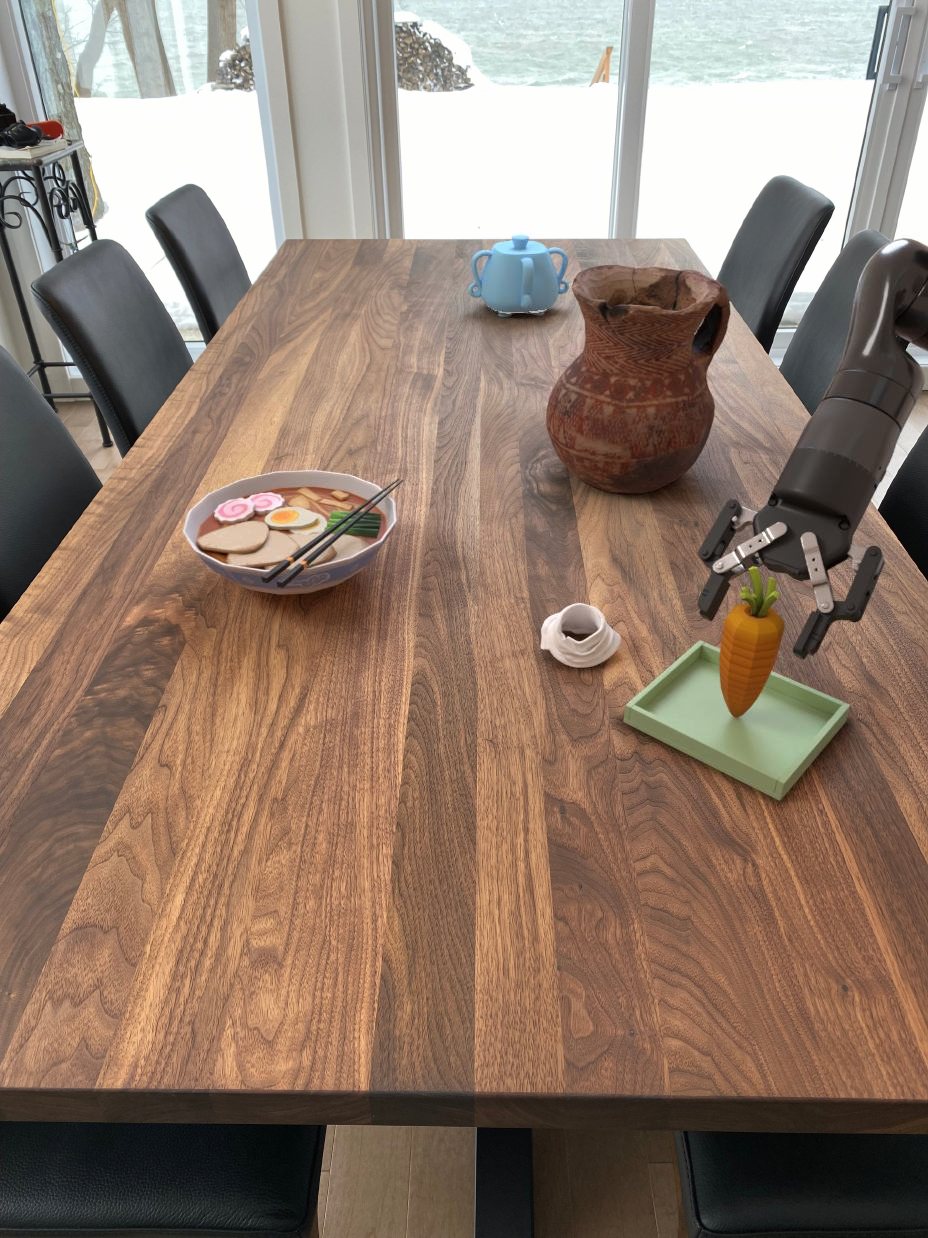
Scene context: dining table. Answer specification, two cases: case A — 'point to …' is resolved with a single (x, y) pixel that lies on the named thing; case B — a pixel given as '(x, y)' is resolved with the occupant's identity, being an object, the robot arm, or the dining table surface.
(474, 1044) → the dining table surface
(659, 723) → the green tray
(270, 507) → the ramen bowl
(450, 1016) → the dining table surface
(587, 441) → the jug
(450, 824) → the dining table surface
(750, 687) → the carrot
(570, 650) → the white cowl scarf
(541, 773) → the dining table surface
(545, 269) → the decorative pot
